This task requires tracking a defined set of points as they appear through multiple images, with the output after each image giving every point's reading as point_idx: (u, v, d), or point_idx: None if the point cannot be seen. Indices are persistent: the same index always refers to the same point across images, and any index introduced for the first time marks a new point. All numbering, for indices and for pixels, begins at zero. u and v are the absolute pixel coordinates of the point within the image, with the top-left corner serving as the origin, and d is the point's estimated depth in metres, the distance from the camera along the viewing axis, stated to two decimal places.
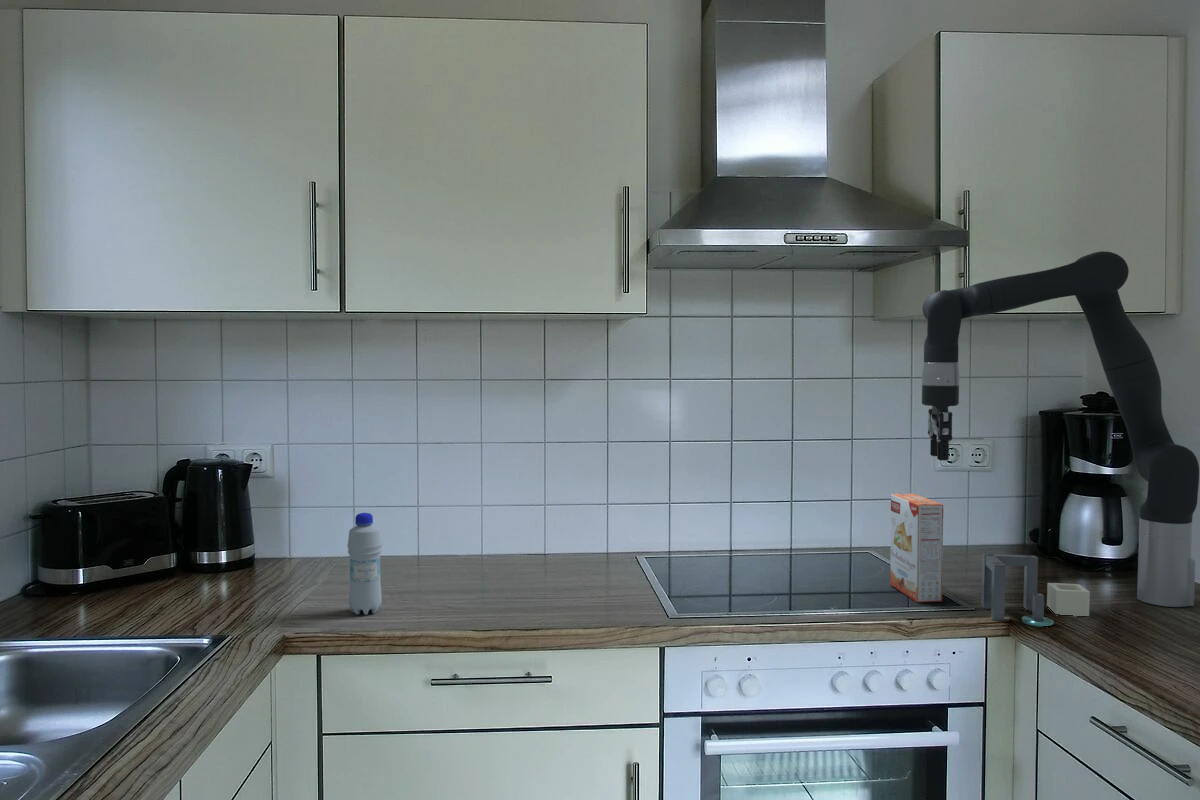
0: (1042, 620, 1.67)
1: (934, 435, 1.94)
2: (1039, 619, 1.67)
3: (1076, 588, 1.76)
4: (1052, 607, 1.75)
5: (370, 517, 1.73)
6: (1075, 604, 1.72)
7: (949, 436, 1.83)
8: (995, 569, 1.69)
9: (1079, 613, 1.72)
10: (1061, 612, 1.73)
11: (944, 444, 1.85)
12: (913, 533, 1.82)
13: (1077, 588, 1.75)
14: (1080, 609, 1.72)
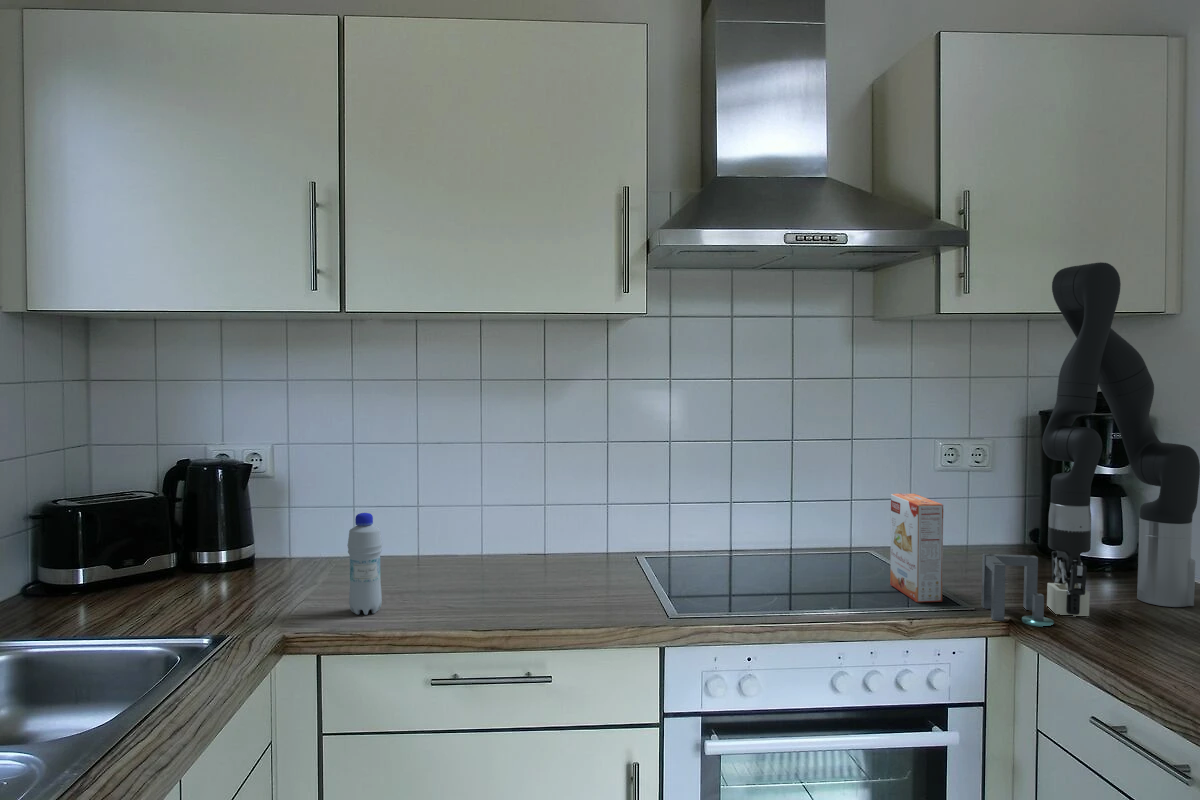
0: (1042, 620, 1.67)
1: (1061, 582, 1.78)
2: (1039, 619, 1.67)
3: None
4: (1052, 607, 1.75)
5: (370, 517, 1.73)
6: None
7: (1081, 590, 1.69)
8: (995, 569, 1.69)
9: (1079, 613, 1.72)
10: (1061, 612, 1.73)
11: (1075, 597, 1.71)
12: (913, 533, 1.82)
13: None
14: (1080, 609, 1.72)
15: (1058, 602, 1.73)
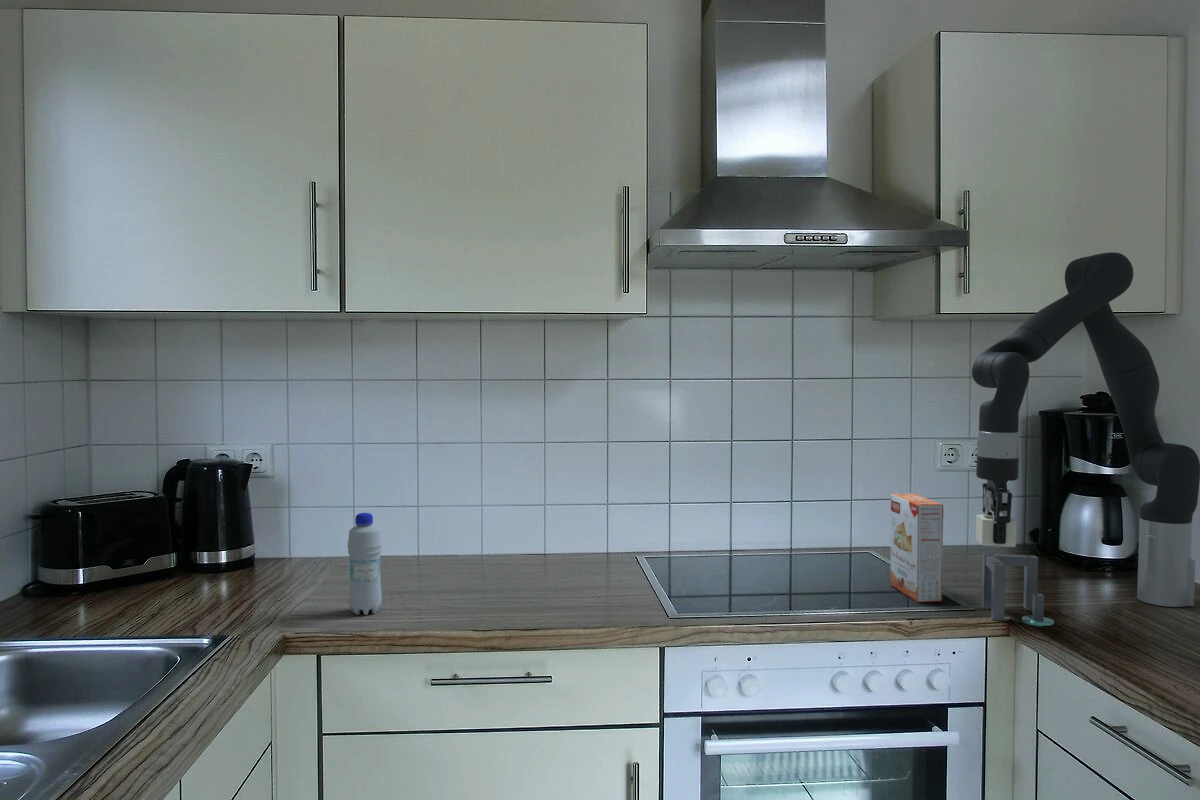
0: (1042, 620, 1.67)
1: (990, 514, 1.74)
2: (1039, 619, 1.67)
3: None
4: (979, 538, 1.71)
5: (370, 517, 1.73)
6: None
7: (1007, 518, 1.65)
8: (995, 569, 1.69)
9: (1005, 543, 1.68)
10: (987, 542, 1.68)
11: (1001, 526, 1.67)
12: (913, 533, 1.82)
13: None
14: (1006, 539, 1.68)
15: (984, 532, 1.68)
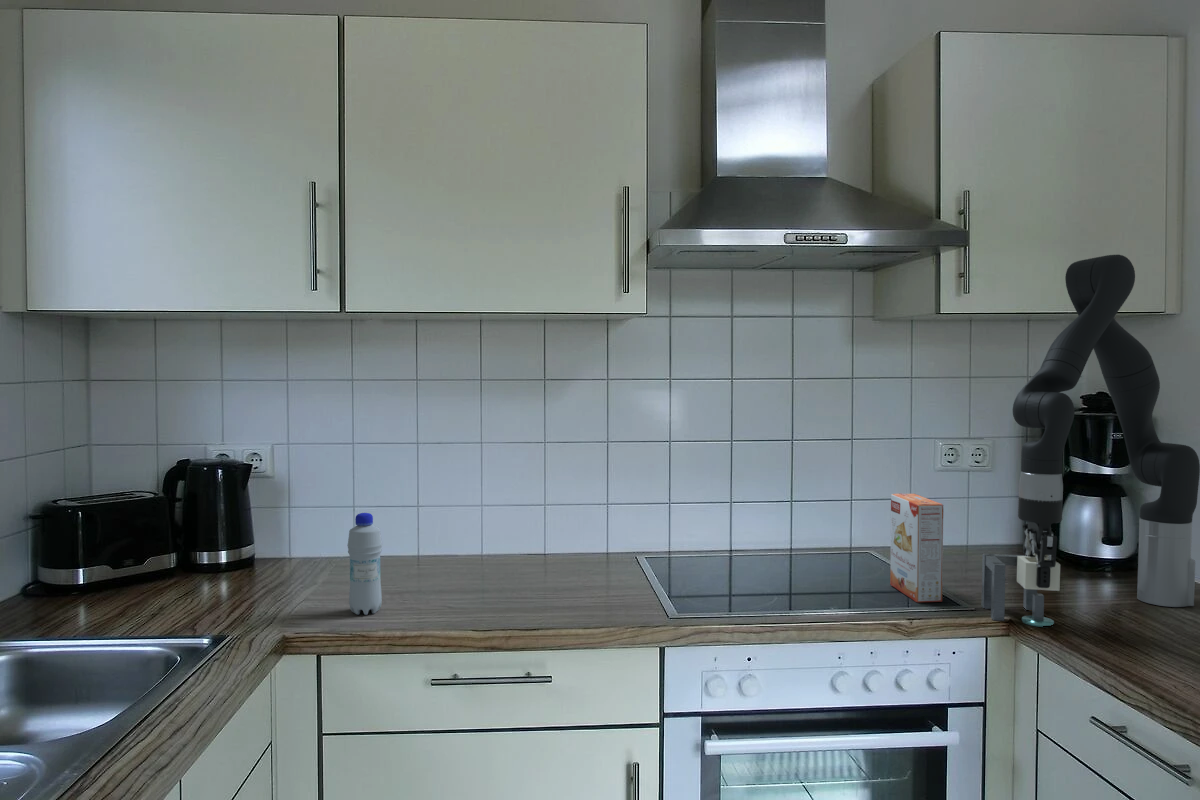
0: (1042, 620, 1.67)
1: (1031, 555, 1.71)
2: (1039, 619, 1.67)
3: None
4: (1021, 581, 1.68)
5: (370, 517, 1.73)
6: None
7: (1052, 562, 1.61)
8: (995, 569, 1.69)
9: (1049, 587, 1.64)
10: (1030, 585, 1.65)
11: (1045, 570, 1.63)
12: (913, 533, 1.82)
13: None
14: (1050, 582, 1.64)
15: (1027, 575, 1.65)
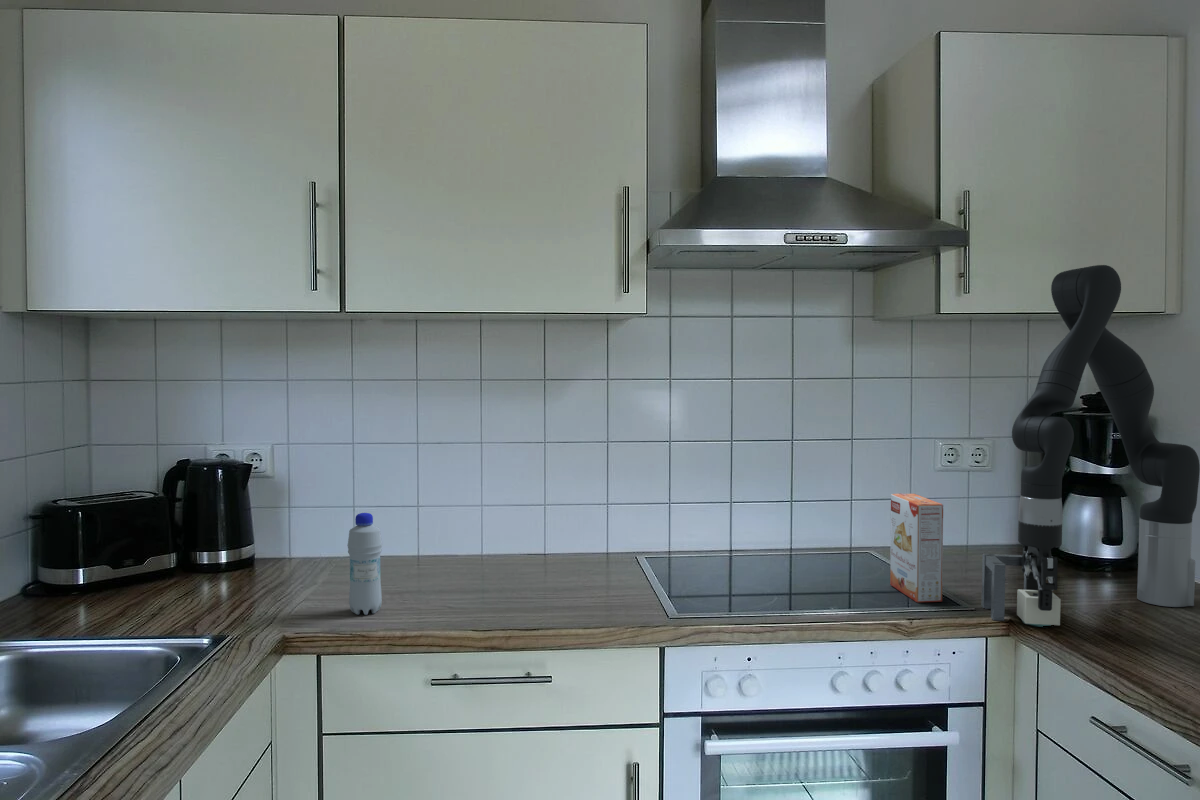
0: None
1: (1030, 575, 1.72)
2: None
3: None
4: (1021, 615, 1.68)
5: (370, 517, 1.73)
6: (1045, 612, 1.65)
7: (1054, 585, 1.61)
8: (995, 569, 1.69)
9: (1050, 621, 1.65)
10: (1031, 620, 1.65)
11: (1047, 593, 1.62)
12: (913, 533, 1.82)
13: None
14: (1050, 617, 1.65)
15: (1028, 610, 1.65)
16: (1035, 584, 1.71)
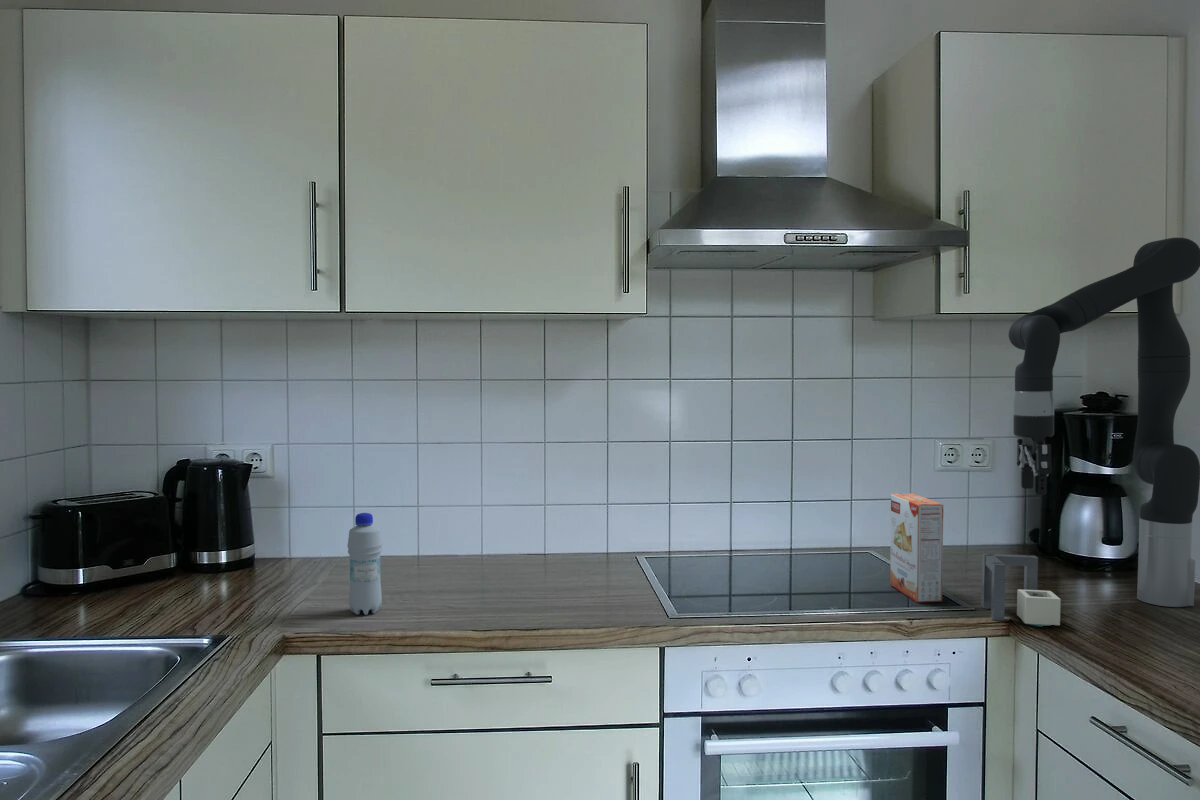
0: None
1: (1025, 466, 1.84)
2: None
3: (1047, 595, 1.69)
4: (1021, 615, 1.68)
5: (370, 517, 1.73)
6: (1045, 612, 1.65)
7: (1048, 469, 1.73)
8: (995, 569, 1.69)
9: (1050, 621, 1.65)
10: (1031, 620, 1.65)
11: (1042, 478, 1.75)
12: (913, 533, 1.82)
13: (1048, 595, 1.68)
14: (1050, 617, 1.65)
15: (1028, 610, 1.65)
16: (1030, 475, 1.84)
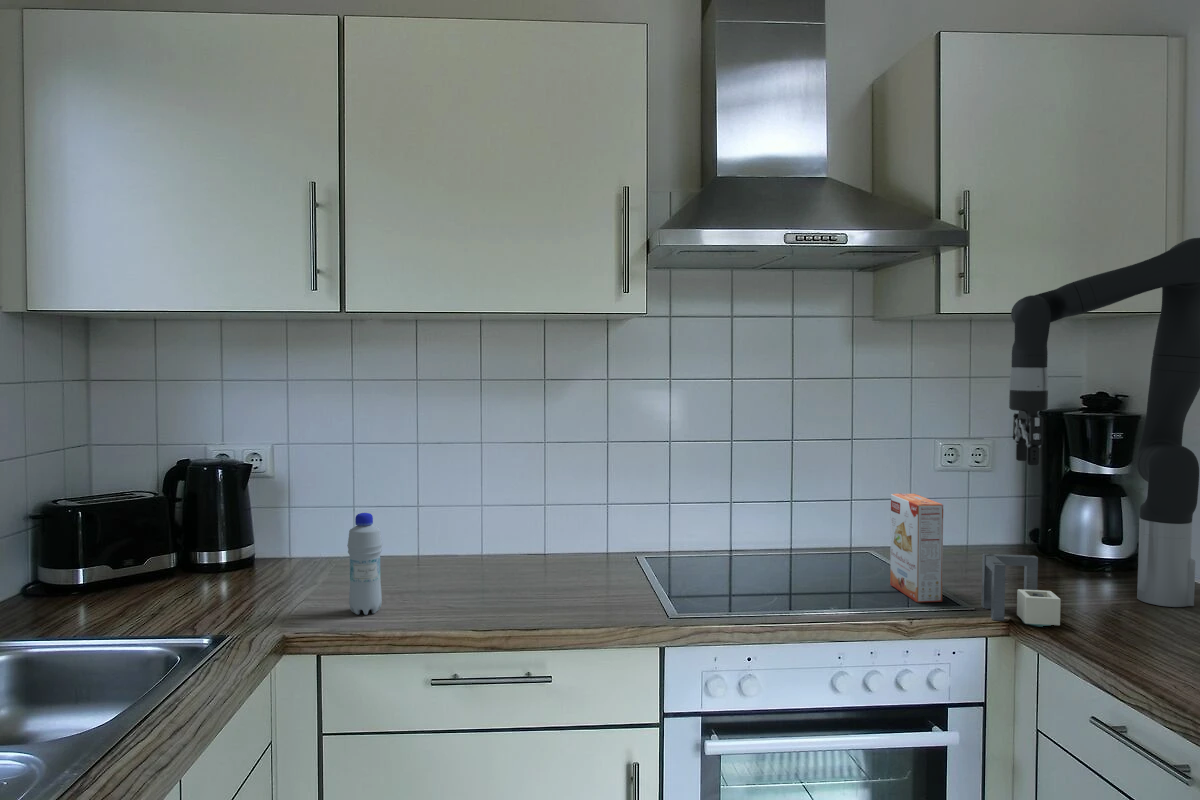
0: None
1: (1020, 440, 1.94)
2: None
3: (1047, 595, 1.69)
4: (1021, 615, 1.68)
5: (370, 517, 1.73)
6: (1045, 612, 1.65)
7: (1040, 440, 1.83)
8: (995, 569, 1.69)
9: (1050, 621, 1.65)
10: (1031, 620, 1.65)
11: (1034, 449, 1.85)
12: (913, 533, 1.82)
13: (1048, 595, 1.68)
14: (1050, 617, 1.65)
15: (1028, 610, 1.65)
16: (1024, 448, 1.94)
